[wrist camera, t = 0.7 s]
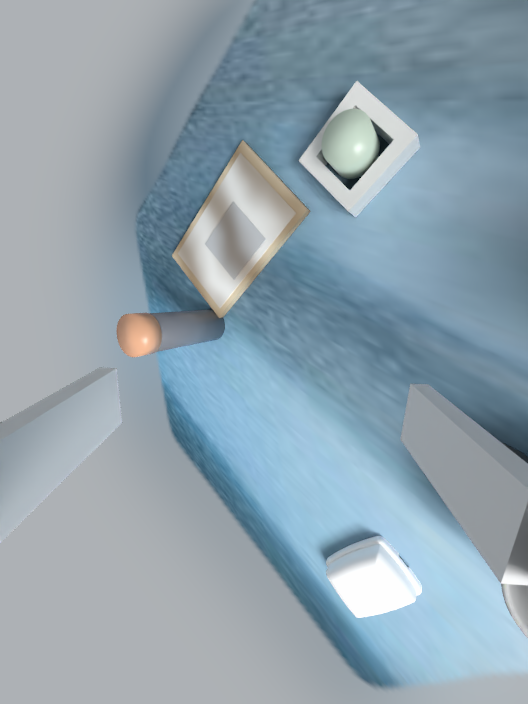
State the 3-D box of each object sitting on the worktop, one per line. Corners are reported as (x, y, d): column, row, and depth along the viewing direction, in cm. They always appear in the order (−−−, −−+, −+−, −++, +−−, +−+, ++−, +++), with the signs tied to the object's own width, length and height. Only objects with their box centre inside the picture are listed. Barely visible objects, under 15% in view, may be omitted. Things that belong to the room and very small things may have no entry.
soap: (382, 529, 33) (376, 548, 30) (428, 587, 31) (426, 612, 29) (323, 555, 37) (315, 573, 35) (361, 607, 36) (355, 630, 33)
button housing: (363, 97, 27) (356, 80, 25) (420, 147, 25) (417, 134, 23) (308, 169, 30) (298, 160, 28) (355, 217, 29) (348, 211, 27)
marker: (212, 301, 39) (128, 304, 29) (230, 326, 38) (151, 338, 28) (195, 323, 41) (111, 333, 31) (212, 347, 40) (132, 365, 30)
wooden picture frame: (246, 143, 33) (240, 138, 32) (310, 211, 31) (306, 208, 30) (176, 256, 41) (170, 255, 40) (223, 317, 39) (217, 317, 38)
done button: (357, 116, 26) (348, 97, 23) (390, 146, 25) (383, 129, 22) (324, 159, 28) (312, 146, 25) (353, 188, 27) (343, 177, 24)
